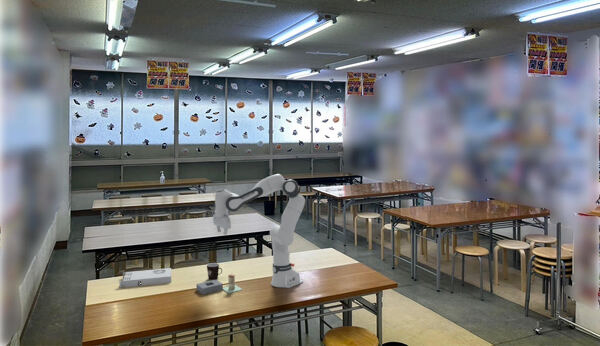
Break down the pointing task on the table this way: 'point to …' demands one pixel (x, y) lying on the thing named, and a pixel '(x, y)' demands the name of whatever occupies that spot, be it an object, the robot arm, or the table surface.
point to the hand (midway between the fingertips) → (222, 233)
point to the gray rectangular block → (209, 286)
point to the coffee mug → (213, 271)
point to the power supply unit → (146, 277)
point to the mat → (231, 290)
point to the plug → (231, 281)
